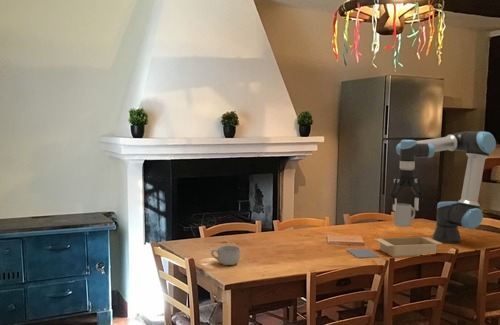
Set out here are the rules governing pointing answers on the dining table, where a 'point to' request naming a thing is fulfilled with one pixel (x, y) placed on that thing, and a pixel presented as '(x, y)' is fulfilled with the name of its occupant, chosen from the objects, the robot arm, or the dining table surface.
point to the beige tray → (408, 246)
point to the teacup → (227, 254)
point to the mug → (403, 215)
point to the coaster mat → (362, 253)
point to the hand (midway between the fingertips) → (405, 210)
